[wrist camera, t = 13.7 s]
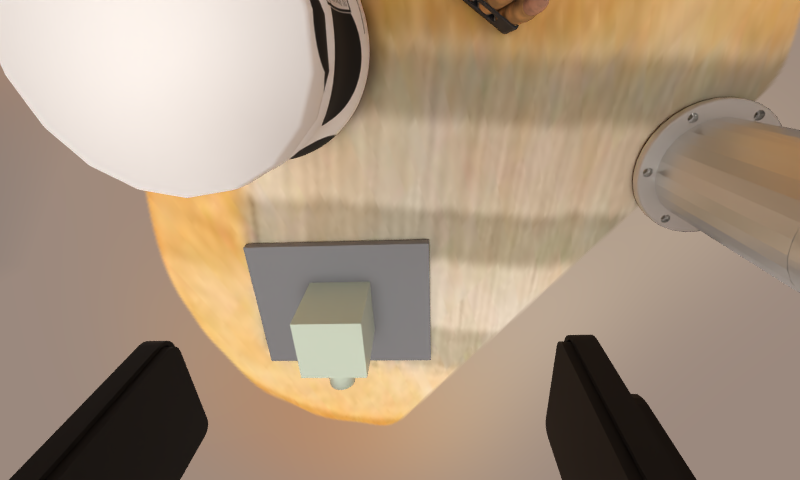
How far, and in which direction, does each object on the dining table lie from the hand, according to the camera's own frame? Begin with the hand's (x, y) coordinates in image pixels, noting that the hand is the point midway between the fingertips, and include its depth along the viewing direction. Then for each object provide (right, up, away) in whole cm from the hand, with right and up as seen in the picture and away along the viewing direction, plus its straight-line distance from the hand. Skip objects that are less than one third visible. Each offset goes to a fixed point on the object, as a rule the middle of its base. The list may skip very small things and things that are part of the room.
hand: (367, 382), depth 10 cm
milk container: (-10, +20, +24) cm, 33 cm away
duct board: (-6, -4, +36) cm, 36 cm away
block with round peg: (-6, -6, +35) cm, 36 cm away
